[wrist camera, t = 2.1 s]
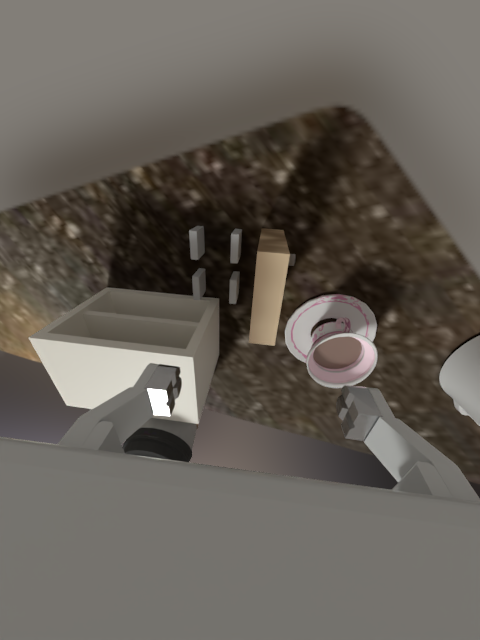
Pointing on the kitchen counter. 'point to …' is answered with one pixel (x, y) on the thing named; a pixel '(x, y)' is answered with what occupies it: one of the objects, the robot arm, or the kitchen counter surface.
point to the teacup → (334, 339)
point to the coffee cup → (162, 440)
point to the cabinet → (138, 340)
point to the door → (269, 285)
